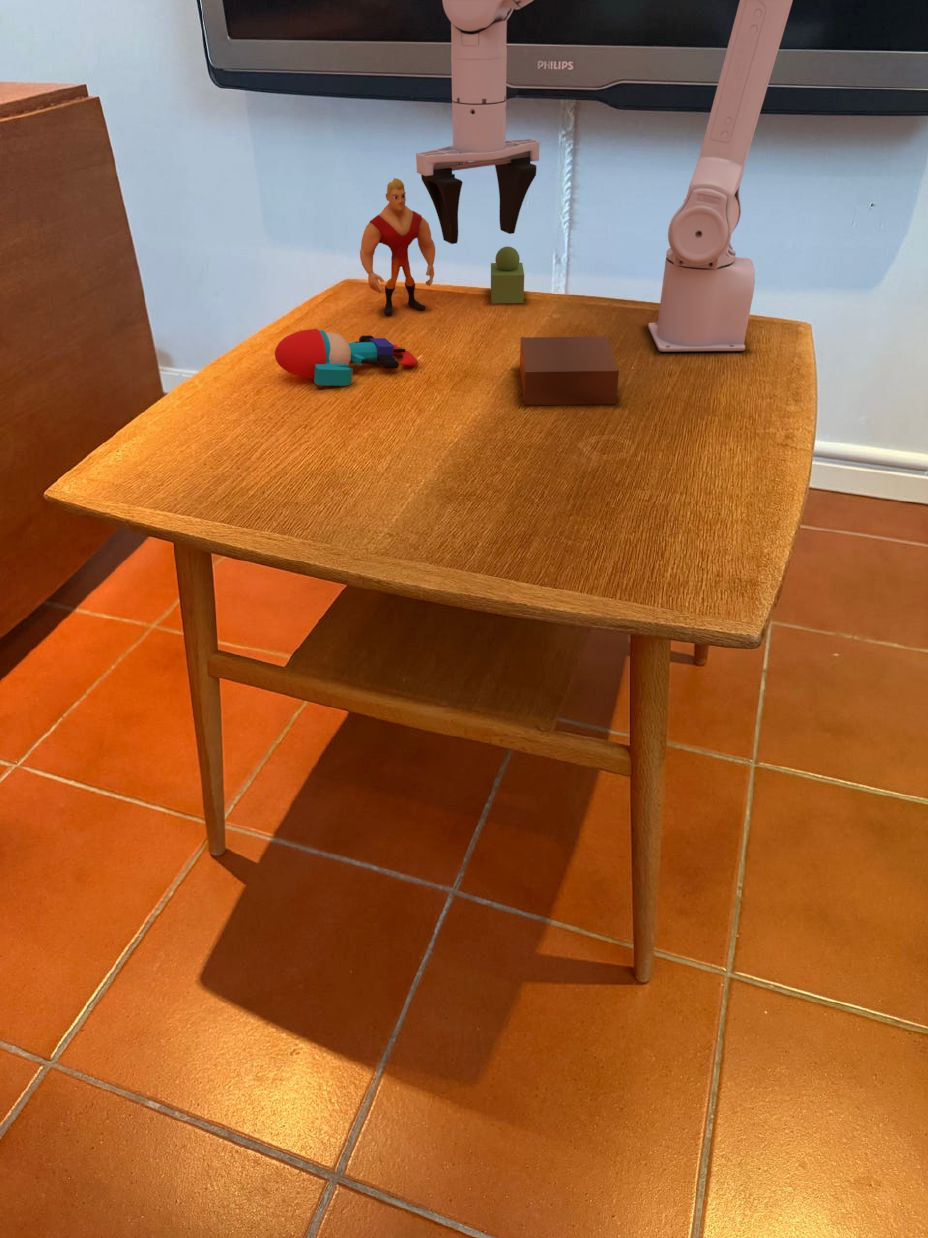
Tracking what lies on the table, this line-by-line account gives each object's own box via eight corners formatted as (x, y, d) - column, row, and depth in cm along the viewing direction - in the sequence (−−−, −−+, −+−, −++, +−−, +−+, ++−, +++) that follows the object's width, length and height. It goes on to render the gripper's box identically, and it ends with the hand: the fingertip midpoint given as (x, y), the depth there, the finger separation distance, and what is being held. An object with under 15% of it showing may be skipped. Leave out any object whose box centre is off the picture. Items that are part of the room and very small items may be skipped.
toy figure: (391, 359, 100) (263, 363, 93) (396, 316, 97) (265, 317, 90) (420, 388, 95) (287, 394, 88) (427, 344, 92) (290, 347, 85)
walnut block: (604, 368, 94) (607, 336, 91) (615, 404, 87) (619, 370, 84) (519, 369, 94) (520, 337, 92) (524, 405, 87) (525, 371, 84)
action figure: (371, 320, 106) (361, 184, 97) (362, 311, 109) (350, 178, 99) (443, 308, 109) (440, 175, 100) (432, 300, 112) (428, 169, 102)
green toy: (521, 290, 114) (522, 240, 110) (523, 303, 110) (525, 252, 106) (490, 290, 114) (491, 241, 110) (491, 303, 110) (491, 252, 106)
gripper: (516, 90, 98) (513, 219, 107) (400, 101, 93) (407, 237, 101) (552, 97, 93) (546, 233, 102) (432, 110, 88) (436, 252, 96)
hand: (479, 236), depth 101 cm, fingers open, 7 cm apart
